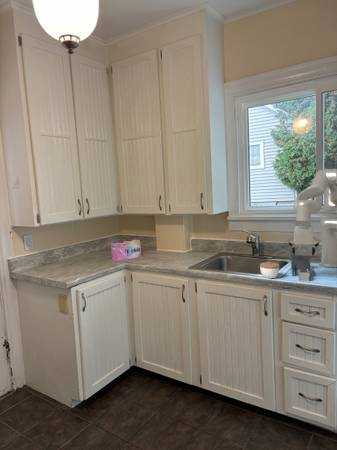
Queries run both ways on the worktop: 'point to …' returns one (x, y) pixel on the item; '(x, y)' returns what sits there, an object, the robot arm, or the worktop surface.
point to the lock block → (303, 275)
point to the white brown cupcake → (269, 269)
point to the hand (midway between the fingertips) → (303, 254)
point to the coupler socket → (301, 263)
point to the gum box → (126, 249)
